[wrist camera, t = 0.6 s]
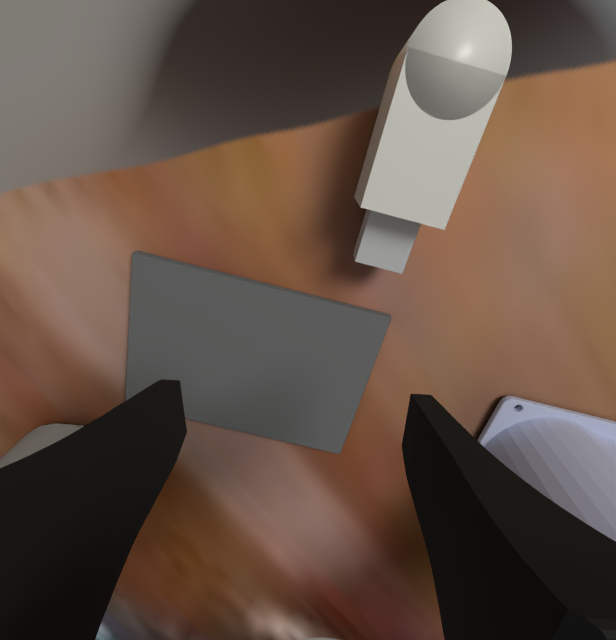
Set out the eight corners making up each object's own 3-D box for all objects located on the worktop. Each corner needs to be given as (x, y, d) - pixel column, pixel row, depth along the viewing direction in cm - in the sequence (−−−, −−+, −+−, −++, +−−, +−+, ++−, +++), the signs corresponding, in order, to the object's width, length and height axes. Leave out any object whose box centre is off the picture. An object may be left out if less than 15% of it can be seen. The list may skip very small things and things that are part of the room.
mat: (389, 314, 20) (391, 318, 20) (339, 448, 24) (339, 454, 24) (137, 250, 19) (132, 252, 19) (129, 400, 23) (125, 404, 23)
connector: (403, 25, 15) (427, -19, 11) (482, 48, 15) (531, 12, 11) (340, 244, 19) (342, 266, 15) (403, 261, 19) (421, 286, 15)
